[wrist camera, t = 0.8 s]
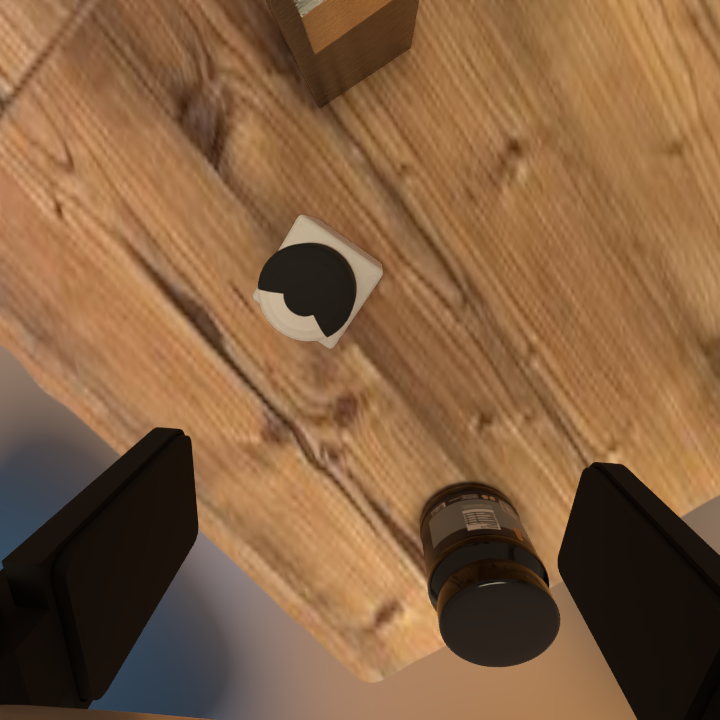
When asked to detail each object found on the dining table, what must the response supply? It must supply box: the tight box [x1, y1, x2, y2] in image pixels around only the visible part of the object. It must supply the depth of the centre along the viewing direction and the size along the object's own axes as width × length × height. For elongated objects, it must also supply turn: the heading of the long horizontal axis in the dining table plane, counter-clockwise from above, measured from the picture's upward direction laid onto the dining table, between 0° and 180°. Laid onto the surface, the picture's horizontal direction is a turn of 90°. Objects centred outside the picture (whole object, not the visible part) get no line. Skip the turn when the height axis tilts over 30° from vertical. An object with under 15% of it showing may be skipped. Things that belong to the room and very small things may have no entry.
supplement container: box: [420, 485, 560, 667], centre depth 36 cm, size 10×10×12 cm
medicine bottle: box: [253, 215, 383, 349], centre depth 29 cm, size 7×7×12 cm
